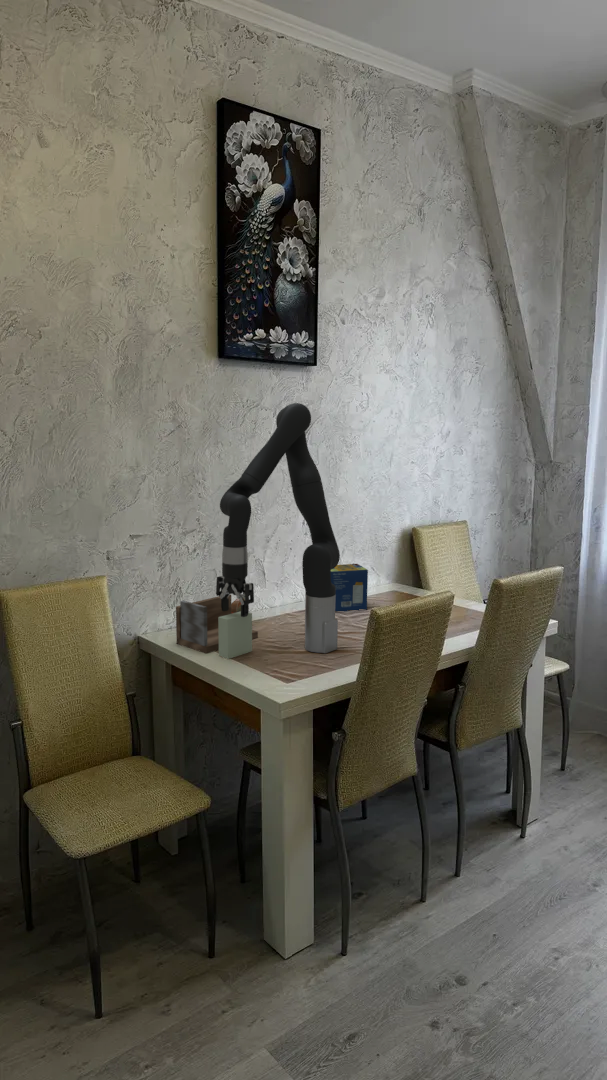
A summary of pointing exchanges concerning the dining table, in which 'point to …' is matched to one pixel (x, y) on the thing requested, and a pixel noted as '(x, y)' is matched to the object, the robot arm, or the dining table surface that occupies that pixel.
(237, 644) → the sage green tall block
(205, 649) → the bookshelf
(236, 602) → the tin
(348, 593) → the protein box
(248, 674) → the dining table surface
